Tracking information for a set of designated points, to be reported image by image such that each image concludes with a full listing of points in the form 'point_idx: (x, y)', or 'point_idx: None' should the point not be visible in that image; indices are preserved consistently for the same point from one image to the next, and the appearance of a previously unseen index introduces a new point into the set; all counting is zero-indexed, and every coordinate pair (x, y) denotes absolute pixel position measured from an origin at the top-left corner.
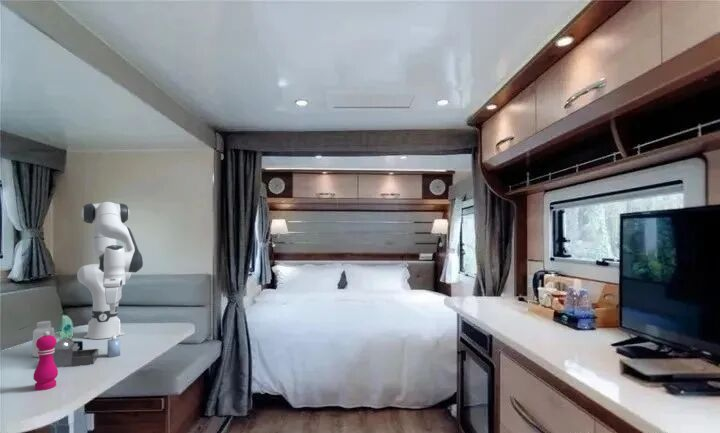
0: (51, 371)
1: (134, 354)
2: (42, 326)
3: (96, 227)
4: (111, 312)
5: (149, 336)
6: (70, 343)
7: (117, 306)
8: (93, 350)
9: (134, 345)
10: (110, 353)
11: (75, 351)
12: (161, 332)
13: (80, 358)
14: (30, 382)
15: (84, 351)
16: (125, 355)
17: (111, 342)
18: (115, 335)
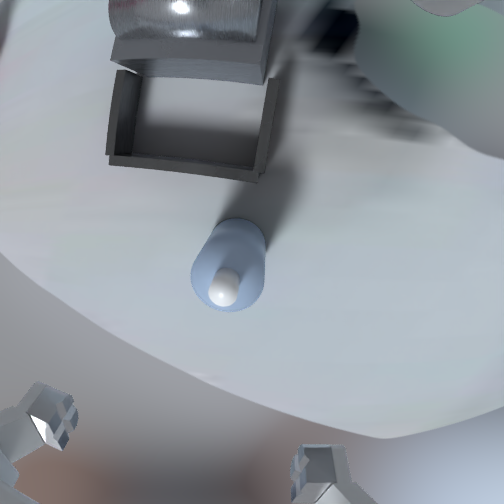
0: None
1: (212, 322)
2: None
3: None
4: (36, 396)
5: (471, 371)
6: (180, 28)
7: (295, 502)
8: (256, 156)
9: (382, 332)
10: (209, 236)
11: (198, 67)
12: (484, 395)
13: (113, 108)
14: (31, 14)
15: (263, 111)
16: None
17: (194, 262)
18: (224, 301)
